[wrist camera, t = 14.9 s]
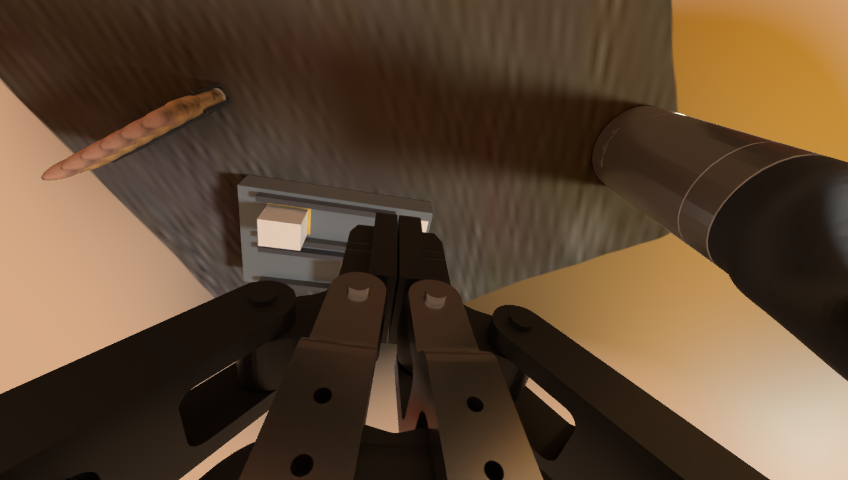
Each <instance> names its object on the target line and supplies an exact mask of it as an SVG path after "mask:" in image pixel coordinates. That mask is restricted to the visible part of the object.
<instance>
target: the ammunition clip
mask: <svg viewBox="0 0 848 480" xmlns="http://www.w3.org/2000/svg"><path fill="white" fill-rule="evenodd" d="M231 102H232V100H231V99H230V97H229V96H228V94H227V93H226V92H225V90H224V89H223V87H222V86H221V84H220V83H217V84H214V85H210V86H207V87H204V88H201V89H198V90H195V91H192V92H189V93H188V94H186V95H184V96H182V97H180V98H178V99H175V100H172V101H170V102H168V103H167V104H165V105H164V106H162V107H160V108H158V109H156V110H154V111H152V112H150V113H148V114H147V115H146V116H144V117H142V118H140V119H138V120H136V121H133V122H132V123H130V124H128V125H127V126H126V127H124V128H122V129H120V130H117V131H115V132H113V133H112V134H110V135H108V136H107V137H105V138H103V139H101V140H99V141H97V142H95V143H93V144H92V145H90V146H88V147H87V148H85V149H82V150H80V151H78V152H77V153H75V154H73V155H72V156H70V157H68V158H67V159H65V160H63V161H61V162H59V163H57V164H55V165H53V166H52V167H50V168H49V169H48V170H47V171H46V172H44V174H43V175H42V177H41V178H42V179H43V180H58V179H63V178H66V177H70V176H73V175H75V174H78V173H81V172H84V171H86V170H91V169H96V168H98V167H100V166H103V165H105V164H107V163H109V162H116V161H118V160H120V159H122V158H124V157H126V156H128V155H131V154H133V153H135V152H137V151H139V150H141V149H143V148H146V147H147V146H149V145H151V144H153V143H155V142H157V141H159V140H161V139H163V138H164V137H166V136H168V135H170V134H172V133H174V132H176V131H178V130H180V129H181V128H183V127H185V126H187V125H189V124H191V123H193V122H195V121H197V120H199V119H200V118H202V117H204V116H206V115H208V114H210V113H212V112H214V111H216V110H217V109H219V108H221V107H223V106H225V105H227V104H229V103H231Z"/></svg>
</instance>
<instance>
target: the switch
mask: <svg viewBox="0 0 848 480" xmlns="http://www.w3.org/2000/svg"><path fill="white" fill-rule="evenodd" d="M307 223H308V210H305V209H298V208H291V207H284V206H277V205H269V204H268V205H267V206H266V207H265V209H264V210H263V211H262V213H261V214H260V216H259V217H258V218H257V230H258V246H264V247H272V248H281V249H289V250H297V251H300V250H301V248H302V245H303V243H304V241H305V238H306V236H307Z"/></svg>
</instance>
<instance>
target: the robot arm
mask: <svg viewBox="0 0 848 480" xmlns="http://www.w3.org/2000/svg"><path fill="white" fill-rule="evenodd" d="M592 165H593V169H594V172H595V174H596V176H597V177H598V179H599V180H600V181H602V182H603V183H604V184H606V185H607V186H608V187H610V188H611V189H612V190H614V191H615V192H616V193H618V194H619V195H620V196H622V197H623V198H624V199H626V200H627V201H628V202H630V203H631V204H633V205H634V206H635V207H637V208H638V209H639V210H641V211H642V212H644V213H645V214H646V215H648V216H649V217H650V218H652V219H653V220H655V221H656V222H657V223H659V224H660V225H661V226H663V227H664V228H666V229H667V230H668V231H670V232H671V233H673V234H674V235H675V236H677V237H678V238H679V239H681V240H682V241H684V242H685V243H686V244H688V245H689V246H691V247H692V248H693V249H695V250H696V251H697V252H699V253H700V254H702V255H703V256H704V257H706V258H707V259H709V260H710V261H711V262H713V263H714V264H715V265H717V266H718V267H719V268H721V269H722V270H724V271H725V272H726V273H728V274H729V276H730V277H731V280H732V281H733V283H734V284H735V285H736V287H737V288H738V289H739V290H740V291H741V292H742V293H743V294H744V295H745V296H746V297H748V298H749V299H750V300H751V301H752V302H754V303H755V304H756V305H758V306H759V307H760V308H761V309H762V310H764V311H765V312H766V313H767V314H769V315H770V316H771V317H772V318H773V319H775V320H776V321H777V322H778V323H780V324H781V325H782V326H783V327H784V328H785V329H787V330H788V331H789V332H790V333H791V334H793V335H794V336H795V337H796V338H797V339H798V340H800V341H801V342H802V343H803V344H804V345H805V346H807V347H808V348H809V349H810V350H811V351H812V352H814V353H815V354H816V355H817V356H818V357H819V358H821V359H822V360H823V361H824V362H825V363H826V364H828V365H829V366H830V367H831V368H832V369H834V370H835V371H836V372H837V373H838V374H840V375H841V376H842V377H843V378H845V379H846V380H847V381H848V162H845V161H841V160H838V159H834V158H831V157H827V156H823V155H820V154H817V153H813V152H810V151H806V150H803V149H799V148H796V147H793V146H789V145H786V144H782V143H778V142H774V141H771V140H767V139H764V138H761V137H757V136H754V135H750V134H747V133H744V132H740V131H736V130H733V129H730V128H726V127H723V126H720V125H716V124H713V123H709V122H706V121H702V120H699V119H695V118H692V117H689V116H685V115H682V114H679V113H676V112H672V111H669V110H665V109H662V108H658V107H654V106H639V107H635V108H631V109H629V110H627V111H625V112H623V113H621V114H620V115H618V116H617V117H615V118H614V119H613V120H612V121H611V122H610V123H609V124H608V125H607V126H606V127H605V128H604V129H603V131H602V132H601V133H600V135H599V137H598V139H597V141H596V143H595V146H594V149H593V155H592ZM388 328H389V338H388V339H389V341H388V343H391V344H397V355H396V360H395V365H394V372H395V386H396V399H397V412H398V425H399V433H391V432H387V431H384V430H380V429H377V428H374V427H371V426H367V425H365V424H366V417H367V411H368V406H369V400H370V394H371V388H372V382H373V376H374V370H375V363H376V361H377V360H378V357H379V353H380V347H381V343H386V340H387V333H388ZM234 362H236V363H234ZM232 363H234V364H233V365H231V364H232ZM229 365H231V366H229ZM227 366H229V367H228V368H226V367H227ZM224 368H226V369H224ZM222 369H224V370H223V371H221V370H222ZM219 371H221V372H219ZM217 372H219V373H218V374H216V373H217ZM214 374H216V375H215V376H213V377H211V376H212V375H214ZM209 377H211V378H210V379H208V378H209ZM529 377H530V378H531V379H532V380H533V381H534V382H536V383H537V384H538V385H539V386H540V387H541V388H543V389H544V390H545V391H546V392H547V393H549V394H550V395H551V396H552V397H553V398H555V399H556V400H557V401H558V402H559V403H561V404H562V405H563V406H564V407H565V408H566V409H567V410H568V411H569V412H570V413H571V415H572V416H573V418H574V421H575V426H573V425H571V424H569V423H568V422H567V421H565V420H564V419H563V418H562V417H561V416H560V415H558V414H557V413H556V412H555V411H554V410H553V409H552V408H550V407H549V406H548V405H547V404H546V403H545V402H544V401H542V400H541V399H540V398H539V397H538V396H537V395H535V394H534V393H533V392H532V391H531V390H530V389H528V388H527V387H526V386H525V385H526V382H527V380H528V378H529ZM206 379H208V380H206ZM204 380H206V381H205V382H203V383H202V384H200V385H199V386H197V387H195V386H196V385H198V384H199V383H201V382H202V381H204ZM193 387H195V388H193ZM192 388H193V389H192ZM191 389H192V390H191ZM268 410H269V411H268ZM267 411H268V414H267V416H266V418H265V420H264V423H263V425H262V428H261V430H260V432H259V435H258V437H257V439H256V441H255V442H254V443H251V444H249V445H247V446H245V447H243V448H242V449H240V450H238V451H236V452H234V453H233V454H231V455H230V456H229V457H227V458H225V459H224V460H223V461H221V462H220V463H218V464H217V465H216V466H214V467H213V468H212V469H211V470H209V472H207V473H206V474H205V475H204V476H202V477H201V478H200V479H199V480H769V479H768V478H766V477H765V476H764V475H762V474H761V473H759V472H758V471H757V470H755V469H754V468H753V467H751V466H750V465H748V464H747V463H745V462H744V461H742V460H741V459H740V458H738V457H737V456H736V455H734V454H733V453H731V452H730V451H728V450H727V449H726V448H724V447H723V446H721V445H720V444H719V443H717V442H716V441H714V440H713V439H712V438H710V437H708V436H707V435H706V434H704V433H703V432H702V431H700V430H699V429H697V428H696V427H695V426H693V425H692V424H690V423H689V422H687V421H686V420H685V419H683V418H682V417H680V416H679V415H678V414H676V413H675V412H673V411H672V410H671V409H669V408H668V407H666V406H665V405H663V404H662V403H661V402H659V401H658V400H656V399H655V398H654V397H652V396H651V395H649V394H648V393H647V392H645V391H644V390H642V389H641V388H639V387H638V386H637V385H635V384H634V383H632V382H631V381H630V380H628V379H627V378H625V377H624V376H622V375H621V374H620V373H618V372H617V371H615V370H614V369H613V368H611V367H610V366H608V365H607V364H606V363H604V362H603V361H601V360H600V359H598V358H597V357H595V356H594V355H593V354H591V353H590V352H589V351H587V350H586V349H584V348H583V347H581V346H580V345H579V344H577V343H576V342H575V341H573V340H572V339H570V338H569V337H567V336H566V335H565V334H563V333H562V332H560V331H559V330H558V329H556V328H555V327H553V326H552V325H551V324H549V323H548V322H546V321H545V320H543V319H542V318H541V317H539V316H538V315H536V314H535V313H533V312H532V311H530V310H528V309H526V308H523V307H520V306H515V305H504V306H500V307H498V308H497V309H496V310H495V311H494V313H493V315H492V316H491V315H488V314H485V313H482V312H479V311H476V310H474V309H471V308H469V307H467V306H465V305H464V304H463V301H462V298H461V296H460V294H459V293H458V291H457V290H456V289H455V288H453V287H452V286H451V285H450V280H449V275H448V270H447V265H446V261H445V255H444V250H443V245H442V242H441V241H440V240H439V238H438V237H437V236H436V235H435V234H433V233H425V232H422V224H421V218H419V217H412V216H404V215H399V218H398V215H396V214H388V213H380V212H376V217H375V224H374V226H368V225H359V224H358V225H357V226H356V227H355V228H353V229H352V230H351V231H350V233H349V237H348V242H347V245H346V250H345V253H344V257H343V261H342V265H341V269H340V273H339V276H338V277H336V278H335V279H334V280H333V281H332V283H331V284H330V287H329V289H328V290H326V291H323V292H321V293H317V294H313V295H306V296H298V297H296V294H295V292H294V290H293V289H292V288H291V287H290V286H288V285H286V284H284V283H281V282H278V281H268V280H265V281H257V282H252V283H249V284H246V285H244V286H241V287H239V288H237V289H235V290H233V291H230V292H228V293H226V294H224V295H221V296H219V297H217V298H215V299H212V300H210V301H208V302H206V303H203V304H201V305H199V306H197V307H195V308H192V309H190V310H188V311H186V312H183V313H181V314H179V315H177V316H175V317H172V318H170V319H168V320H165V321H163V322H161V323H159V324H156V325H154V326H152V327H150V328H148V329H145V330H143V331H141V332H139V333H136V334H134V335H132V336H130V337H128V338H125V339H123V340H121V341H118V342H116V343H114V344H112V345H109V346H107V347H105V348H103V349H100V350H98V351H96V352H94V353H91V354H89V355H87V356H85V357H82V358H80V359H78V360H76V361H74V362H71V363H69V364H67V365H65V366H62V367H60V368H58V369H56V370H53V371H51V372H49V373H47V374H44V375H42V376H40V377H38V378H36V379H33V380H31V381H29V382H27V383H24V384H22V385H20V386H18V387H15V388H13V389H11V390H9V391H6V392H5V393H2V394H0V480H179V479H180V478H181V477H183V476H184V475H185V474H187V473H188V472H189V471H191V470H192V469H193V468H194V467H196V466H197V465H198V464H199V463H201V462H202V461H203V460H205V459H206V458H207V457H209V456H210V455H211V454H213V453H214V452H215V451H216V450H217V449H219V448H220V447H222V446H223V445H224V444H225V443H227V442H228V441H229V440H231V439H232V438H233V437H235V436H236V435H237V434H238V433H240V432H241V431H242V430H243V429H245V428H246V427H247V426H249V425H250V424H251V423H253V422H254V421H255V420H257V419H258V418H259V417H260V416H262V415H263V414H264V413H266V412H267Z"/></svg>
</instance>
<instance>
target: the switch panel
mask: <svg viewBox="0 0 848 480" xmlns="http://www.w3.org/2000/svg"><path fill="white" fill-rule="evenodd" d="M237 187H238V202H239V216H240V231H241V246H242V261H243V276H244V281H248V282H257V281H265V280H268V281H278V282H281V283H284V284H286V285H288V286H290V287H291V288H292V289H297V290H307V291H316V292H323V291H326V290H328V289H329V287H330V284H331V283H332V281H333V280H334V279H335V278H336V277H338V276H339V273H340V269H341V265H342V261H343V257H344V253H345V250H346V245H347V242H348V237H349V233H350V231H351V230H352V229H353V228H355V227H356V226H357V225H358V224H359V225H368V226H374V224H375V217H376V212H380V213H388V214H396V215H398V218H399V215H404V216H412V217H419V218H421V224H422V232H425V233H429V229H430V224H431V220H432V216H433V211H432V207H431V202H426V201H420V200H413V199H407V198H400V197H393V196H387V195H380V194H373V193H367V192H360V191H353V190H347V189H340V188H333V187H327V186H320V185H313V184H307V183H300V182H293V181H287V180H280V179H274V178H267V177H260V176H254V175H247V176H246V177H245V178H244V179H243V180H242V181H241V182H240V183H239V184H238V185H237ZM268 204H269V205H277V206H284V207H291V208H298V209H305V210H308V223H307V236H306V238H305V241H304V243H303V245H302V248H301V250H300V251H297V250H289V249H281V248H272V247H264V246H258V230H257V218H258V217H259V216H260V214H261V213H262V211H263V210H264V209H265V207H266V206H267V205H268Z"/></svg>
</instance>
